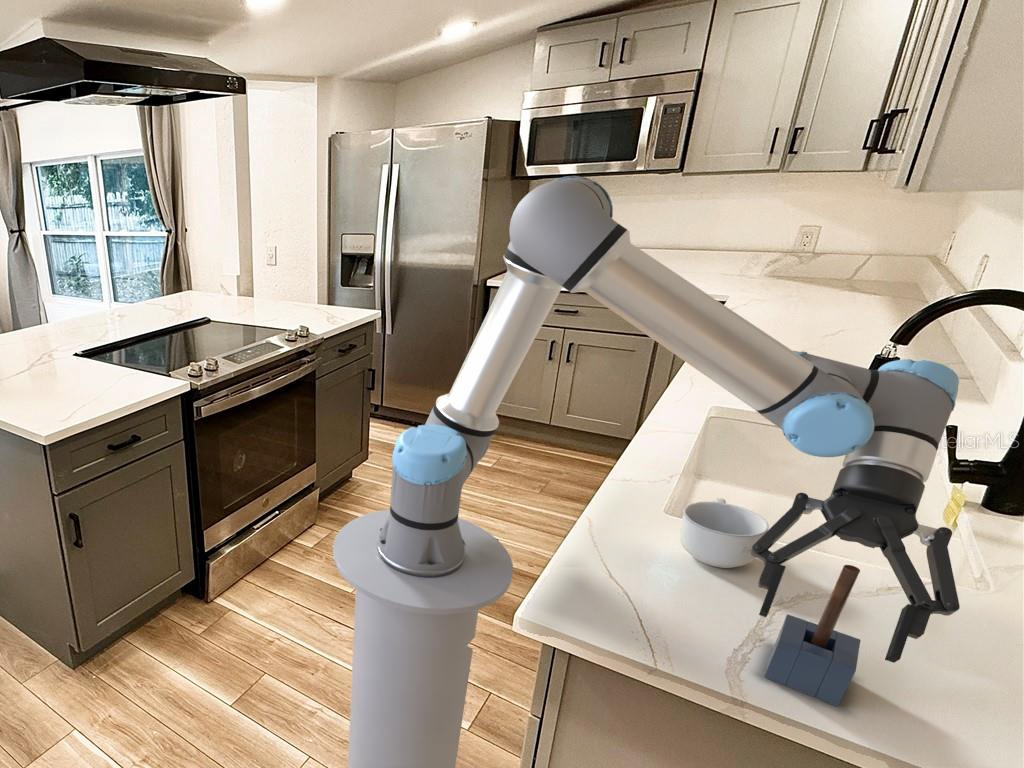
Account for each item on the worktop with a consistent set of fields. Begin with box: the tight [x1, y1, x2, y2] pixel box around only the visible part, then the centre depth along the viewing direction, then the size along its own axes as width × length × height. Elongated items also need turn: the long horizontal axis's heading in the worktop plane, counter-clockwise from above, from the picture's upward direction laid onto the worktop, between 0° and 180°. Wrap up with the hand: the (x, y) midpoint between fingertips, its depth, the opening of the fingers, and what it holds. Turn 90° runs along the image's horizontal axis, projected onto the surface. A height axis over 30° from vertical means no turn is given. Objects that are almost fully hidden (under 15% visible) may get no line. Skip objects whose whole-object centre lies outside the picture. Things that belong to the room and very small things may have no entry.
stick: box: [810, 564, 861, 649], centre depth 75 cm, size 1×1×17 cm
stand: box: [764, 613, 861, 708], centre depth 78 cm, size 7×7×6 cm
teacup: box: [679, 497, 770, 569], centre depth 102 cm, size 14×11×8 cm
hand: (824, 635), depth 74 cm, fingers open, 11 cm apart
